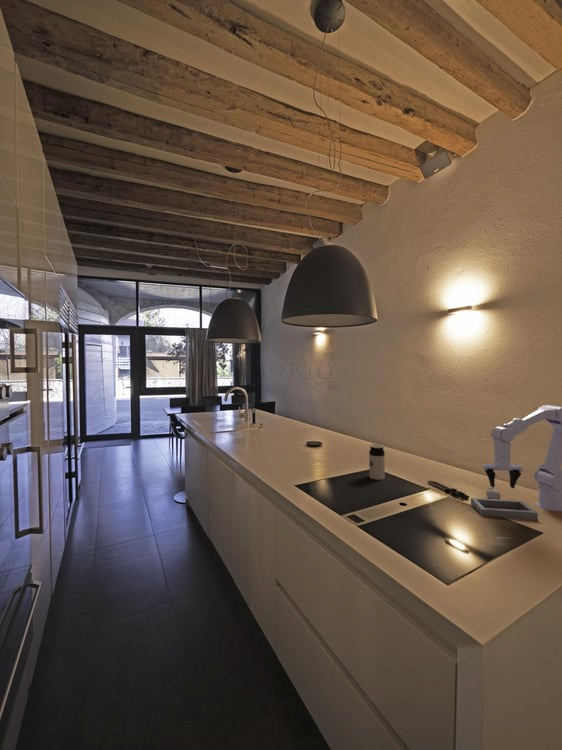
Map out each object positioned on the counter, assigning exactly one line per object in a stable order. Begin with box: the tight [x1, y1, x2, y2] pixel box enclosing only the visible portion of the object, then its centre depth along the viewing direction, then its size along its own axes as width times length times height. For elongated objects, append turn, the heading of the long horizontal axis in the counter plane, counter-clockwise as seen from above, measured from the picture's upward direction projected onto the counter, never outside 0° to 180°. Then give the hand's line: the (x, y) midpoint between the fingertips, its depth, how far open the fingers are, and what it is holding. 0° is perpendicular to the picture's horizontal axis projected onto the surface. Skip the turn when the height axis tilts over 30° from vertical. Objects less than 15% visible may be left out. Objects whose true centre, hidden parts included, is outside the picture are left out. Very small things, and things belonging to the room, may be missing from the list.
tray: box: [470, 497, 539, 521], centre depth 139 cm, size 20×12×3 cm, turn 79°
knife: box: [427, 480, 470, 500], centre depth 164 cm, size 25×6×1 cm, turn 10°
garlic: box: [485, 487, 502, 500], centre depth 153 cm, size 6×5×5 cm
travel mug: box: [368, 443, 386, 481], centre depth 182 cm, size 8×8×18 cm
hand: (502, 487), depth 142 cm, fingers open, 7 cm apart
